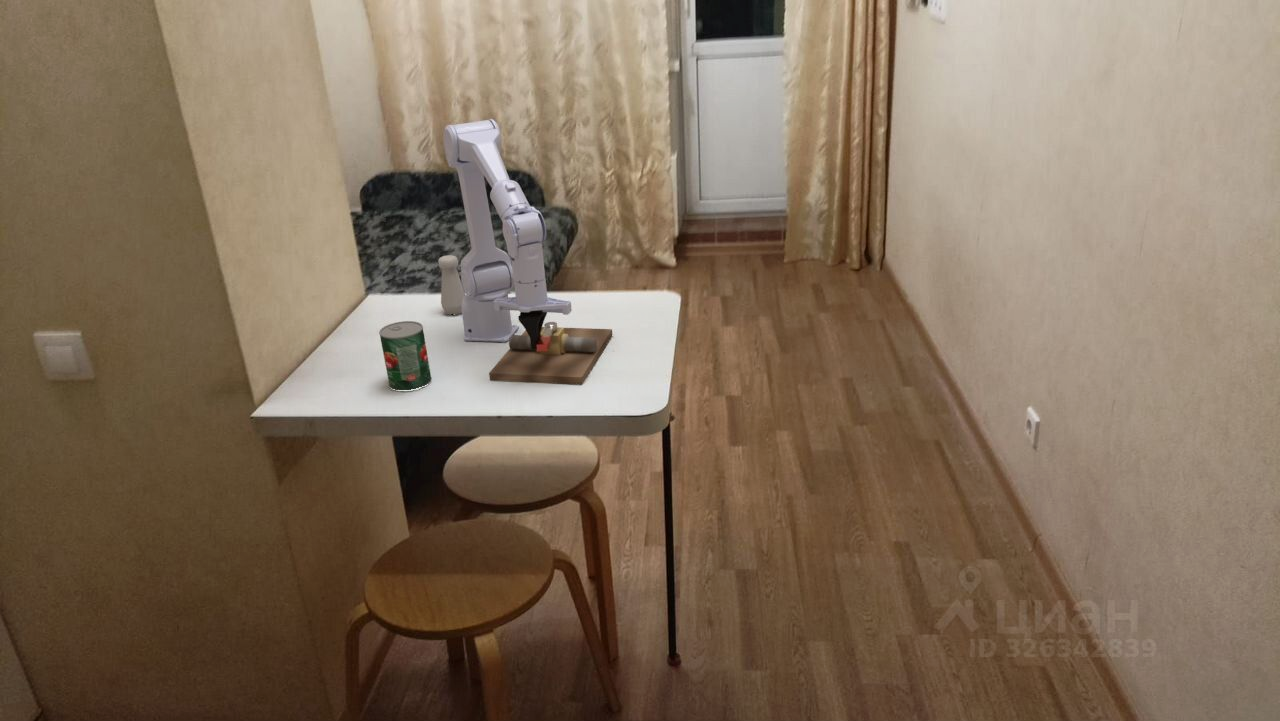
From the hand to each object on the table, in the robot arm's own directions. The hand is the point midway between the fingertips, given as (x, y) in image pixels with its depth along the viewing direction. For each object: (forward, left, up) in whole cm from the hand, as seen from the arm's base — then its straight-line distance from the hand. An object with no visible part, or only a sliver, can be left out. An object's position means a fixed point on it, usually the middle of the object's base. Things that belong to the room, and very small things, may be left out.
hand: (536, 347), depth 173 cm
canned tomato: (-23, -7, -6) cm, 25 cm away
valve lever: (+1, +3, 0) cm, 3 cm away
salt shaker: (-29, +29, -6) cm, 42 cm away
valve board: (+1, +7, -5) cm, 9 cm away
